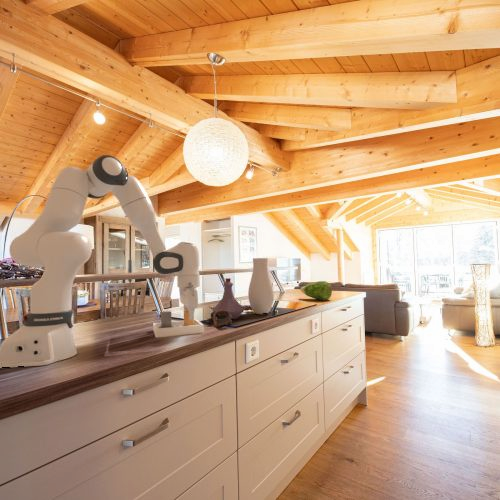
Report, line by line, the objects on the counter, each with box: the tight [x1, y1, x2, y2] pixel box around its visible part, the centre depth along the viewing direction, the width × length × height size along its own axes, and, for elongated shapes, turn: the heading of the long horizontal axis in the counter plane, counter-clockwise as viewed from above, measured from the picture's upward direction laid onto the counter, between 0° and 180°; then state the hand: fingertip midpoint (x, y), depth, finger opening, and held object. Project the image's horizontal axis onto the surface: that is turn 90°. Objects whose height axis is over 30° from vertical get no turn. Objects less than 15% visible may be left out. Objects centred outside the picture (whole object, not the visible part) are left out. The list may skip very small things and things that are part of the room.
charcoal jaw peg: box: [160, 310, 172, 328], centre depth 128 cm, size 4×4×8 cm
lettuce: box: [300, 280, 333, 301], centre depth 233 cm, size 14×23×13 cm, turn 48°
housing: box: [152, 319, 205, 338], centre depth 129 cm, size 18×13×4 cm
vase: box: [247, 257, 275, 315], centre depth 176 cm, size 14×14×30 cm
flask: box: [212, 277, 246, 320], centre depth 164 cm, size 16×16×20 cm
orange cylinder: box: [183, 309, 195, 326], centre depth 131 cm, size 4×4×8 cm
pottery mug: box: [210, 310, 233, 329], centre depth 144 cm, size 12×10×8 cm
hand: (188, 316), depth 131 cm, fingers open, 8 cm apart
